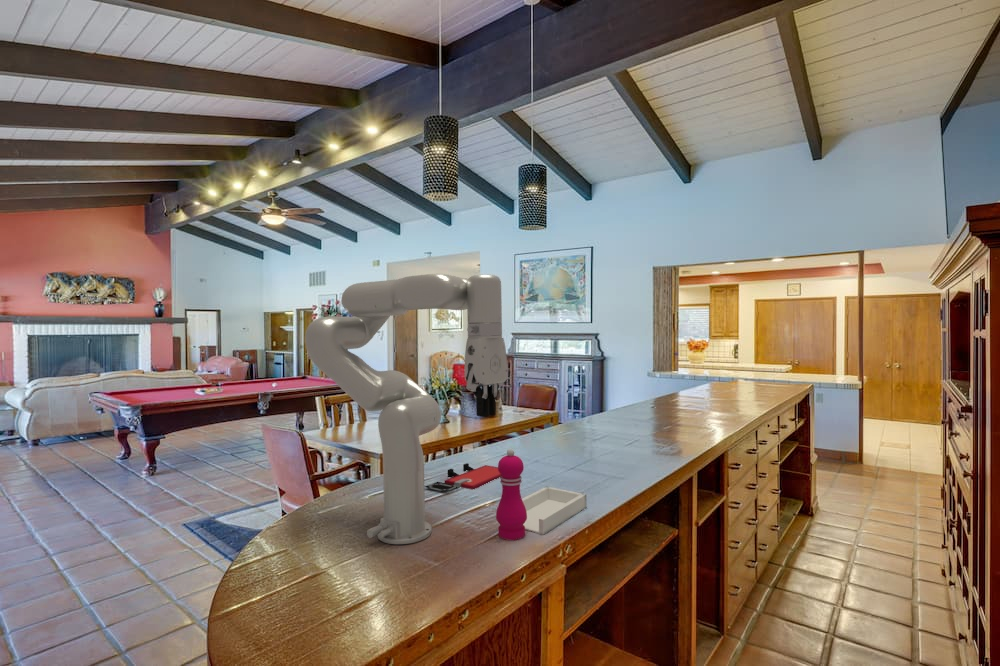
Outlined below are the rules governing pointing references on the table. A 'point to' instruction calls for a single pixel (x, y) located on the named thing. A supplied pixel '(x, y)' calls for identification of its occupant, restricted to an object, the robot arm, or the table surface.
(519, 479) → the pepper mill
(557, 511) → the grey tray
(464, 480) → the red board with handle
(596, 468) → the table surface
